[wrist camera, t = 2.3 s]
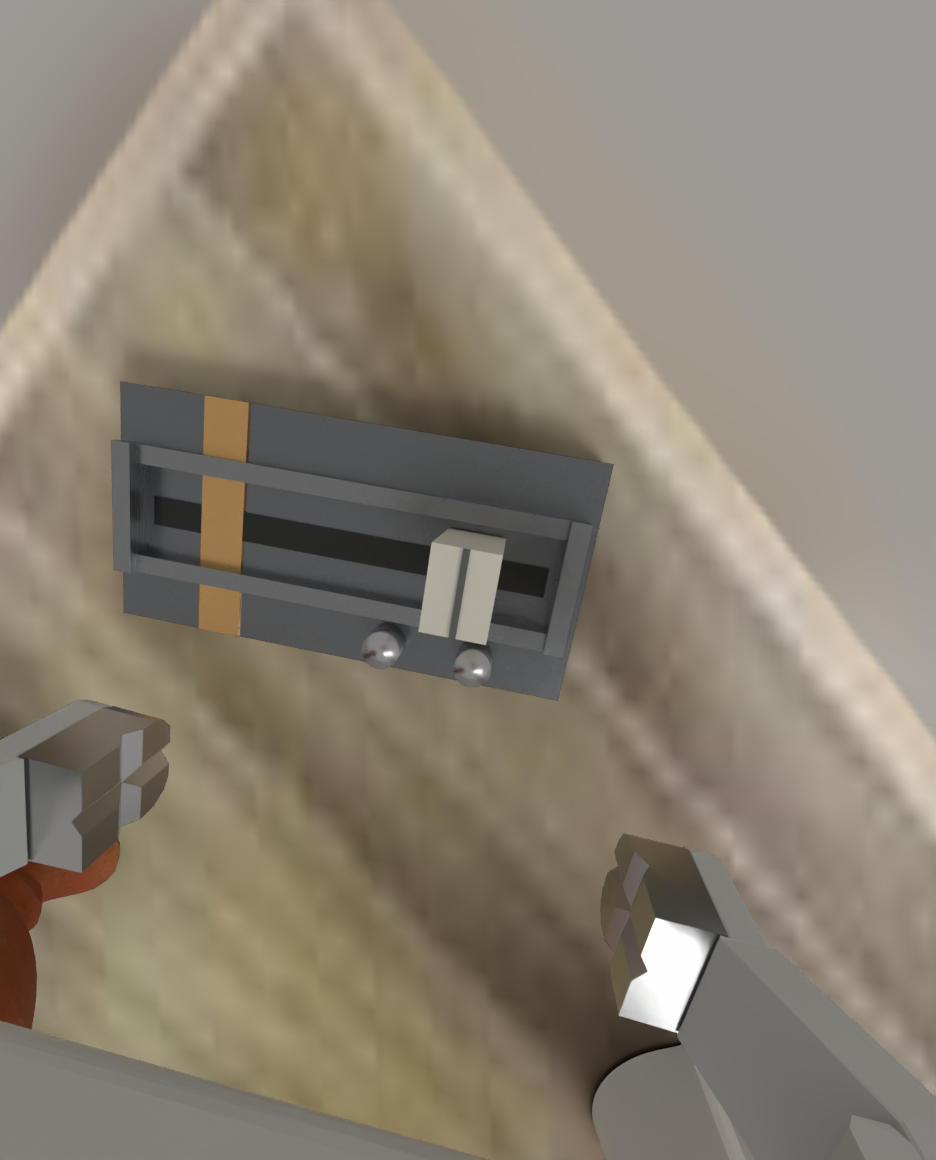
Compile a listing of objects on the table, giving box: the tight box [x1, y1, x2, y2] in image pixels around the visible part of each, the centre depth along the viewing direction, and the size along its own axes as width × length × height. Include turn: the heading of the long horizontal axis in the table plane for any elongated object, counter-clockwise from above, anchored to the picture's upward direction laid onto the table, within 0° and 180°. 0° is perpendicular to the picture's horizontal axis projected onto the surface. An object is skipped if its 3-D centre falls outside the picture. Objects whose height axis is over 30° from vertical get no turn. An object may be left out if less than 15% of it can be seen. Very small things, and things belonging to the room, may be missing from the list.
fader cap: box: [418, 528, 506, 645], centre depth 22 cm, size 3×4×5 cm
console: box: [111, 381, 614, 701], centre depth 26 cm, size 26×13×4 cm, turn 81°
